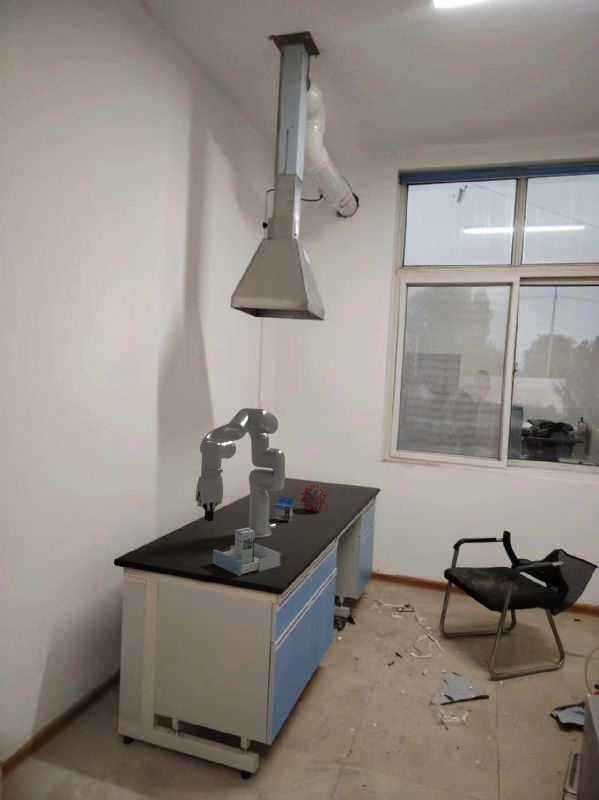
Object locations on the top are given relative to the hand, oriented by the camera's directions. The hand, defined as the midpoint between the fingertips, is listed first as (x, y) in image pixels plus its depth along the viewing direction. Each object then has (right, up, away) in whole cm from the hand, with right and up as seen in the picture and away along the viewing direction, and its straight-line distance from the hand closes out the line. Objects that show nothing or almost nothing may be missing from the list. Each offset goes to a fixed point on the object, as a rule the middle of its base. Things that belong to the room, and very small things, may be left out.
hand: (208, 520), depth 197 cm
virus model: (+43, -18, +100) cm, 110 cm away
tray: (+11, -20, +6) cm, 23 cm away
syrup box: (+13, -19, +3) cm, 23 cm away
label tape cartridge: (+27, -18, +76) cm, 83 cm away
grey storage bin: (+17, -20, +11) cm, 28 cm away
